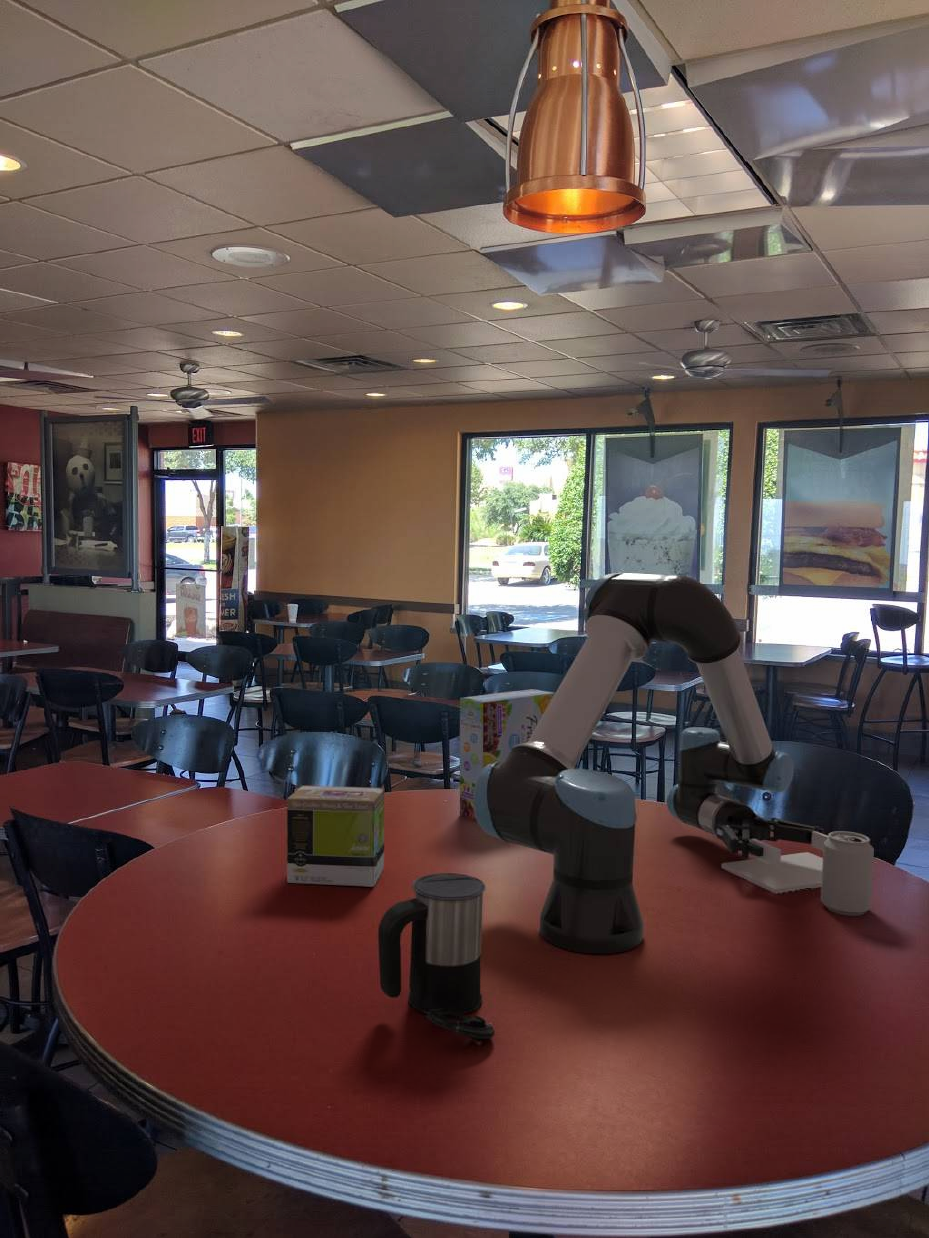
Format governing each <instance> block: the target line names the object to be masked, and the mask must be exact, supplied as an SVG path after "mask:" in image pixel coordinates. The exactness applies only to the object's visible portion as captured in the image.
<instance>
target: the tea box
mask: <svg viewBox="0 0 929 1238" xmlns="http://www.w3.org/2000/svg"><path fill="white" fill-rule="evenodd" d="M384 866H385V788H383V787H362V786H361V787H358V786H332V785H330V786H329V785H324V786H323V785H301V786H300V787H299V788H298V789H296V791H294V792H293V793H292V794H291V795H290V796H289V797H287V798H286V878H287V880H286V882H287V883H289V884H290V883H291V884H306V885H308V884H309V885H310V884H311V885H324V886H325V885H329V886H350V887H367V888H368V887H370V888H374V887H375V885H376V884H377V882H378V880H379V878H380V876H381V874H383V871H384Z"/></svg>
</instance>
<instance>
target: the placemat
mask: <svg viewBox="0 0 929 1238" xmlns="http://www.w3.org/2000/svg"><path fill="white" fill-rule="evenodd" d="M822 865H823V857H821V856H818V855H816V854H813V853H810V852H809V851H806V852H805V851H804V852H799V853H790V854H784V855H783V854H781V864H780V866H775V865H773V864H771V863H768V862H766V861H764V860H762V859H760V858H752V859H744V860H738V861H730V862H723V863H721V869H724V870H725V871H727V872H729V873H731V874H733V875H735V876H738V877H740V878H742V879H743V878H744V880H745V879H746V880H745V881H747V882H750V883H751V884H753V885H756V886H758V887H760V888H762V889H764V888H765V889H764V890H766V889H767V890H766V891H768V890H769V892H770V891H771V892H770V893H771V894H774V893H775V894H774V895H778V893H779V894H783V892H785V893H789V892H788V891H792V892H796V891H795V890H798V891H800V890H799V889H805V888H811V889H816V888H821V885H822ZM805 890H806V889H805Z"/></svg>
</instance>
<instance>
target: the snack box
mask: <svg viewBox="0 0 929 1238" xmlns="http://www.w3.org/2000/svg"><path fill="white" fill-rule="evenodd" d="M555 693H556V692H552V691H545V690H539V689H523V690H514V691H505V692H498V693H488V694H481V695H473V696H466V697H460V699H459V816H461V817H465V818H467V819H471V820H473V821H475V822H477V820H476V817H475V813H474V802H473V793H474V787H475V783H476V781H477V778H478V776H479V774H480V772H481V771H482V770H483V769H484V767H486V766H487V765H488V764H492V763H493V762H503V763H504V762H505V760H506V759H507V757H508V755H509V754H510V752H511V750H512V748H513V747H514V746H515V745H518V744H523V743H527V741H528V740H529V738H530V736H531V735H532V733H533V731H534V729H535V728H536V726H537V724H538V722H539V721H540V719H541V717H542V715H543V714H544V712H545V710H546V709H547V707H548V705H549V703H550V702H551V700H552V698H553V696H554V695H555Z"/></svg>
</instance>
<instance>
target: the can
mask: <svg viewBox="0 0 929 1238" xmlns="http://www.w3.org/2000/svg"><path fill="white" fill-rule="evenodd" d="M827 836H829V838H828V839H827V840H826V841H825V842H824V845H823V851H822V858H823V865H822V885H821V887H820V902H821V903H822V904H823V905H824V906H825V907H827V908H828V910H829V911H831V912H833V913H835V914H839V915H843V916H854V917H857V916H862V915H864V914H866V912H867V911H870V910H871V907H872V893H873V892H872V890H873V873H874V872H873V871H874V854H875V853H874V852H875V849H874V847H873V846H872V845H871V844H870V841H871V839H870V837H869V836H866V835H865V834H862V833H858V832H854V831H853V832H852V831H844V830H843V831H842V830H840V831H839V830H838V831H837V830H836V831H832V832H829V833H828V834H827ZM827 908H826V909H827Z"/></svg>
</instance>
